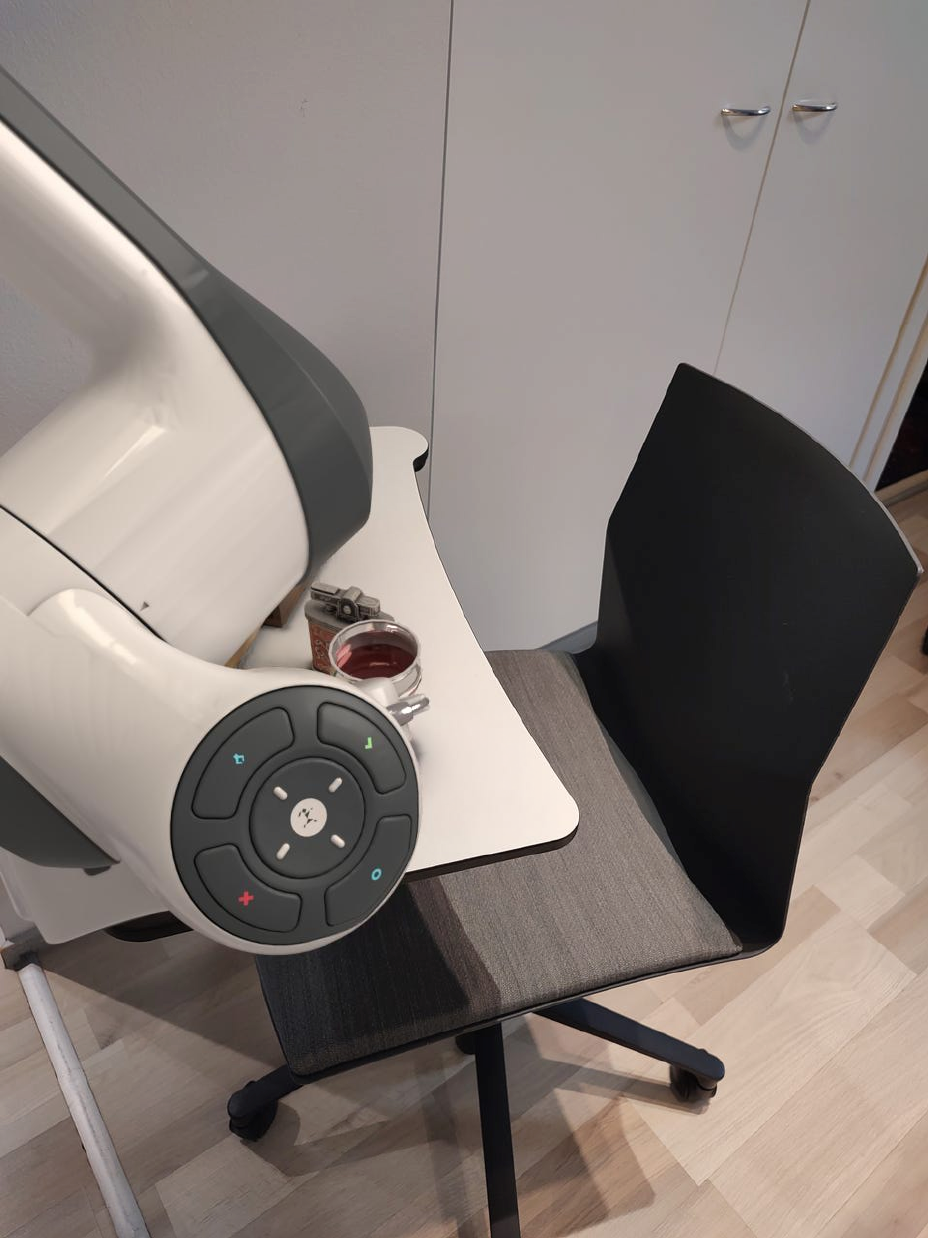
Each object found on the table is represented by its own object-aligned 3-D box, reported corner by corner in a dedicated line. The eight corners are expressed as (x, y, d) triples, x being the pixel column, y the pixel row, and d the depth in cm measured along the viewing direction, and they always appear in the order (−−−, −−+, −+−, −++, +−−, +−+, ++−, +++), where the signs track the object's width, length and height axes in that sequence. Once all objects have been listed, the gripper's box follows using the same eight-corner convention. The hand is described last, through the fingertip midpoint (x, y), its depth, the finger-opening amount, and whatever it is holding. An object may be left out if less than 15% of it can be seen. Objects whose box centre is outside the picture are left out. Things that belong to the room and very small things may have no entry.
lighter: (404, 678, 78) (401, 591, 72) (387, 704, 76) (383, 616, 69) (323, 654, 80) (313, 567, 74) (305, 678, 78) (293, 591, 71)
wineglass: (351, 721, 74) (341, 613, 66) (430, 731, 74) (429, 624, 66) (329, 784, 69) (315, 676, 61) (414, 796, 69) (411, 689, 61)
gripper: (418, 635, 42) (345, 659, 54) (-53, 814, 34) (-10, 793, 46) (464, 760, 42) (381, 754, 55) (5, 968, 34) (33, 904, 47)
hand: (198, 773), depth 50 cm, fingers open, 8 cm apart
